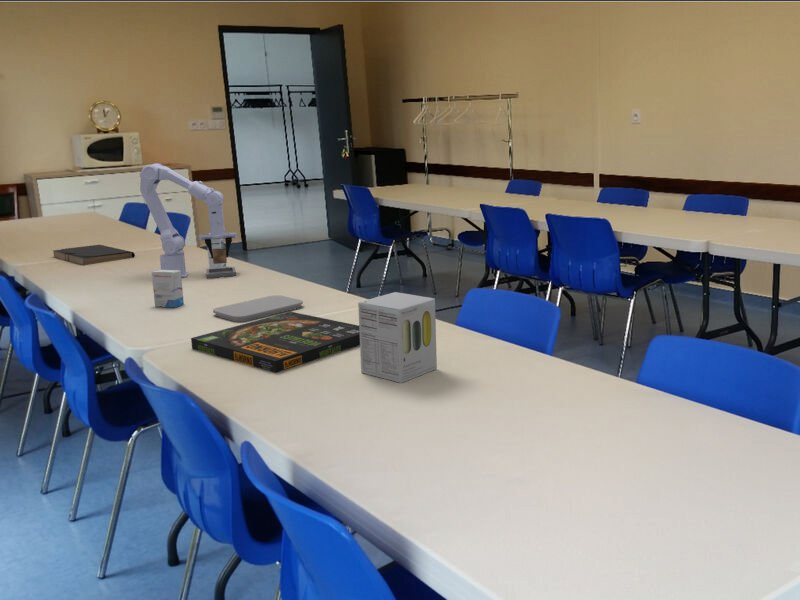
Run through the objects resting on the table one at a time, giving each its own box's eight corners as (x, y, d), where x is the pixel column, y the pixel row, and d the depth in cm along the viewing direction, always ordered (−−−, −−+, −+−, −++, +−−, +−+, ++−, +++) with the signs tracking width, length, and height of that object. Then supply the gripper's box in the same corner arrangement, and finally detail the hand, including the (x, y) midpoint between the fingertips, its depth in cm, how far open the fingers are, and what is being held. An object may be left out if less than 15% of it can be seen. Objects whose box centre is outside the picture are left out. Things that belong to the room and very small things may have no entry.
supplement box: (401, 384, 185) (398, 309, 181) (360, 373, 193) (356, 301, 189) (438, 369, 194) (436, 297, 190) (397, 359, 203) (394, 291, 199)
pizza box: (376, 341, 221) (375, 329, 220) (276, 375, 196) (275, 361, 195) (291, 323, 244) (290, 311, 243) (192, 350, 219) (191, 338, 218)
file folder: (52, 249, 373) (103, 243, 389) (53, 258, 373) (104, 252, 389) (81, 257, 349) (134, 250, 365) (82, 266, 350) (135, 259, 366)
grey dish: (207, 278, 312) (206, 274, 311) (206, 273, 322) (206, 269, 322) (236, 276, 314) (235, 271, 314) (234, 271, 325) (234, 266, 324)
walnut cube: (213, 263, 314) (212, 251, 313) (213, 261, 319) (212, 248, 317) (226, 263, 315) (225, 250, 314) (226, 260, 320) (225, 248, 318)
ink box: (185, 304, 271) (181, 269, 268) (176, 308, 266) (172, 272, 263) (163, 303, 273) (159, 268, 271) (154, 306, 269) (150, 271, 266)
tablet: (209, 316, 255) (208, 309, 254) (276, 301, 272) (276, 294, 272) (238, 324, 243) (238, 317, 243) (307, 308, 261) (306, 301, 261)
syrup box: (223, 269, 329) (220, 234, 326) (208, 270, 330) (205, 234, 326) (226, 266, 335) (223, 231, 332) (212, 267, 335) (209, 232, 332)
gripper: (197, 225, 308) (200, 260, 311) (236, 222, 311) (239, 257, 314) (197, 223, 315) (200, 257, 318) (235, 220, 318) (238, 254, 321)
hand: (219, 257), depth 317 cm, fingers closed on walnut cube, 5 cm apart
